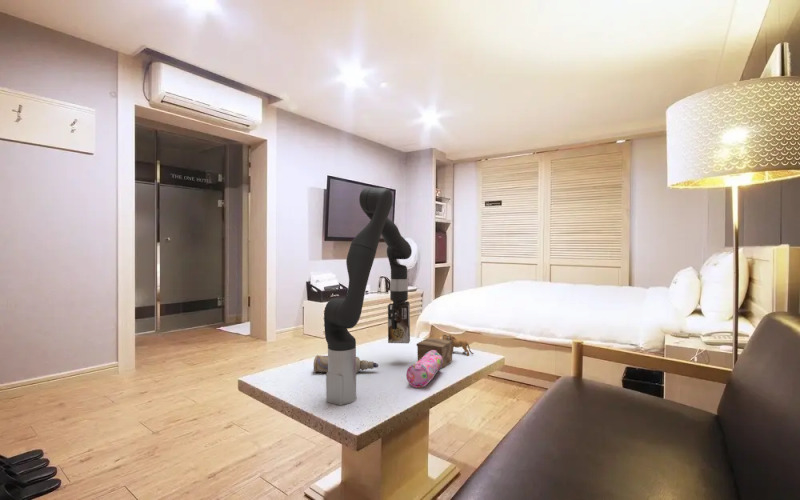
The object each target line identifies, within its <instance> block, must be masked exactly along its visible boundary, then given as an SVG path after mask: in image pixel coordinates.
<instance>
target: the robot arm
mask: <svg viewBox="0 0 800 500" xmlns="http://www.w3.org/2000/svg"><path fill="white" fill-rule="evenodd" d="M393 198H394V197H393V192H392V190H390V189H389V188H385V187H365V188H363V189H362V190H361V191H360V193H359V198H358V199H359V200H358V201H359V206H360V207H361V210H362V211H363V212H364V214H366V216H367V217H368V218H369V219H370V221H369V222H368V224H367V225H365V227H364V228H363V229H362V230H361V231H359V233H357V235H356V236H355V237H354V238H353V239H352V241H351V242H350V246H349V249H348V252H347V255H346V259H345V260H346V261H345V262H346V263H345V264H346V270H347V276H348V287H347V290H346V291H347V292H346V294H345V297H344V298H339V297H338V298H337V297H335V298H331V299H330V300H328V302H326V304H325V307H324V311H323V322H324V323H323V325H324V337H325V338H324V339H325V341H326V343H327V356H328V372H325V377H326V378H325V383H326V385H325V386H326V390H325V391H326V392H325V393H326V394H325V395H326V403H329V404H330V403H331V404H333V405H337V406H343V405H346V404H350V403H353V402H354V401H356V399H357V373H356V357H357V345H356V344H357V340H356V338H355V337H354V335H352V334H351V333H350V332H349V330H348V329H352V328H354V327H355V326H357V324H358V323H359V320H360V318H361V315H362V311H363V305H364V301H365V294H366V289H367V285H368V281H369V277H370V274H371V270H372V267H373V264H374V261H375V257H376V255H377V250H378V247H379V243H380V239H381V236H382V238H383V241H384V242H385V244H386V246H387V247H386V256H387V258H388V262H389V266H390V285H389V290H390V291H389V293H390V295H389V296H390V301H391V302H392V303H393V305H389V304H388V305H389V308H388V307H387V320H388V319H390V320H391V324H392V326H391V327H392V329H397V317H398V316H399V310H398V306H399V305H401V304H405V303H410V302H409V301H408V300H409V295H408V294H409V285H408V267H407V266H406V265H404V264H401V263H399V262H398V261H397V260H408V259H409V258H410V257H411V256H412V247H411V245H410V243H409V242H408V240H406V238H404V237H403V235H401V233H400V230H399V228H398V226H397V225H396V223H394V221H393V220H391V219H390V218H389V215H390V212H391V209H392V206H393ZM395 308H396V310H398V312H397V313H395ZM391 314H392V315H391ZM395 315H396V316H395Z"/></svg>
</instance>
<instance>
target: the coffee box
mask: <svg viewBox="0 0 800 500" xmlns="http://www.w3.org/2000/svg"><path fill="white" fill-rule="evenodd" d="M389 305H393V302H392V303H391V302H389V303H388V304H387V309H388V308H389ZM410 306H411V305H410V302H409V303H405V304H401V305H399V306H398V310H399V316H398V317H397V329H392V327H391V326H392V324H391V320H390V319H388V318H387V336H388V337H387V344H410V343H411V320H410V317H411V315H410V313H411V311H410V310H411V309H410V308H411V307H410ZM398 310H396V308H395V313H397V312H398ZM391 315H392V314H391ZM395 316H396V315H395Z"/></svg>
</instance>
